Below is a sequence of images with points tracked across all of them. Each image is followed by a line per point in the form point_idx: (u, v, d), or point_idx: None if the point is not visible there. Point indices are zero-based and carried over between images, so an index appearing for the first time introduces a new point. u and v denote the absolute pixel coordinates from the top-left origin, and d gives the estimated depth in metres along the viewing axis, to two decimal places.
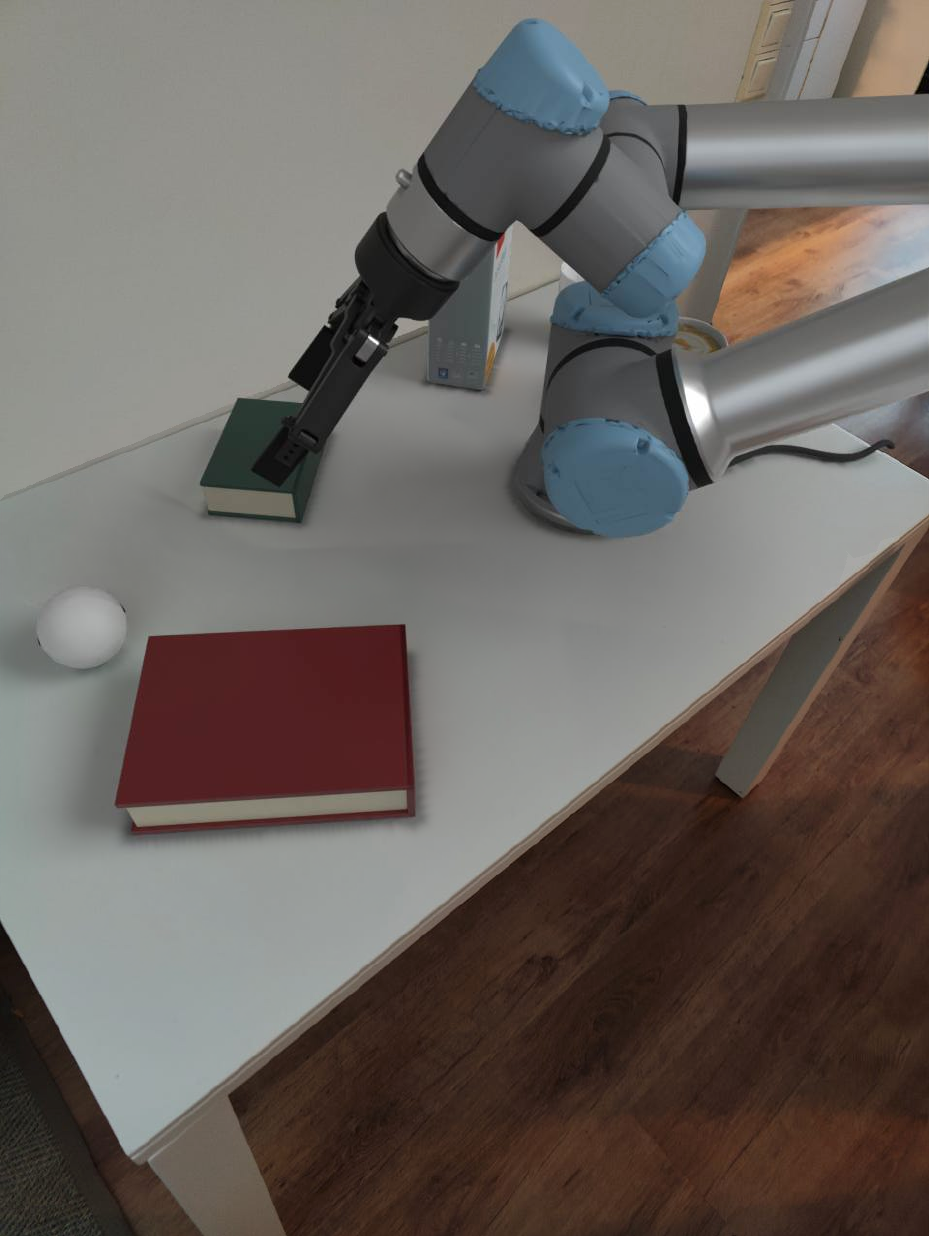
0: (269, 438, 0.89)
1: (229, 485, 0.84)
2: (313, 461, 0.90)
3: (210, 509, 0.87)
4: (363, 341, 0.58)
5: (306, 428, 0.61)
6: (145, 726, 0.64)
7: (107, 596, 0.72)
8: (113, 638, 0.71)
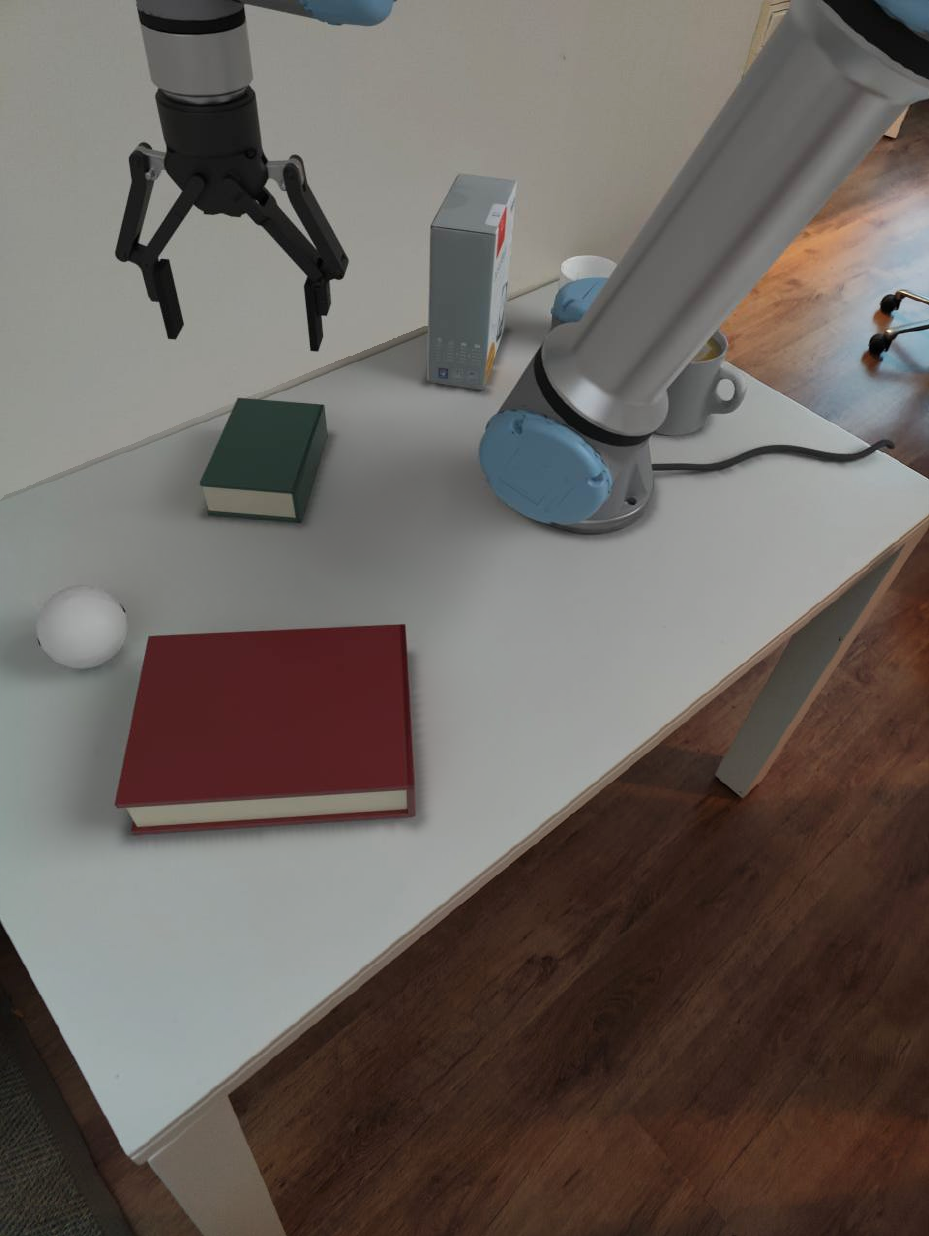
0: (269, 438, 0.89)
1: (229, 485, 0.84)
2: (313, 461, 0.90)
3: (210, 509, 0.87)
4: None
5: None
6: (145, 726, 0.64)
7: (107, 596, 0.72)
8: (113, 638, 0.71)
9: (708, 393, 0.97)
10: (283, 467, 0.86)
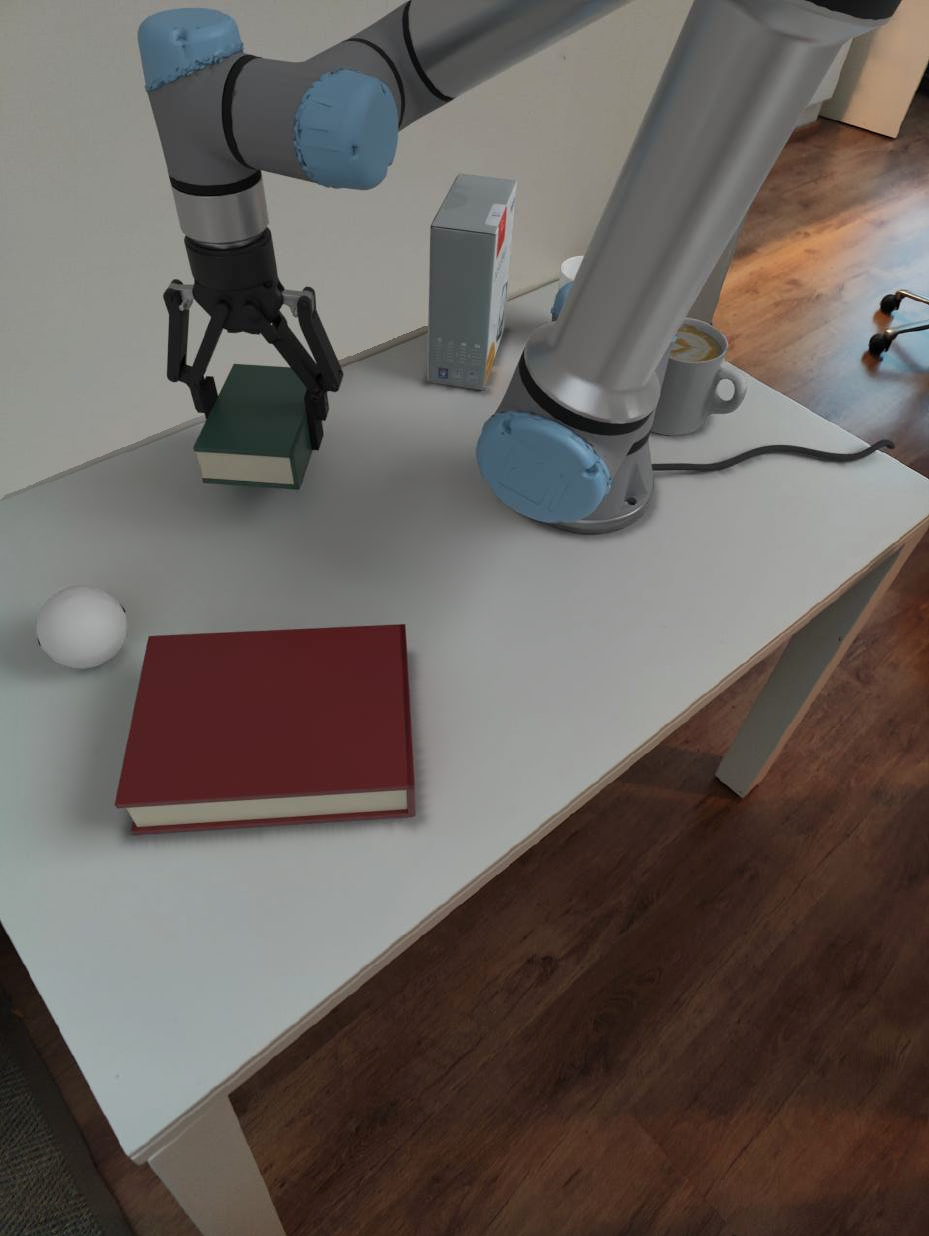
0: (266, 403, 0.85)
1: (224, 450, 0.80)
2: None
3: (205, 477, 0.83)
4: None
5: None
6: (145, 726, 0.64)
7: (107, 596, 0.72)
8: (113, 638, 0.71)
9: (708, 393, 0.97)
10: (280, 431, 0.82)
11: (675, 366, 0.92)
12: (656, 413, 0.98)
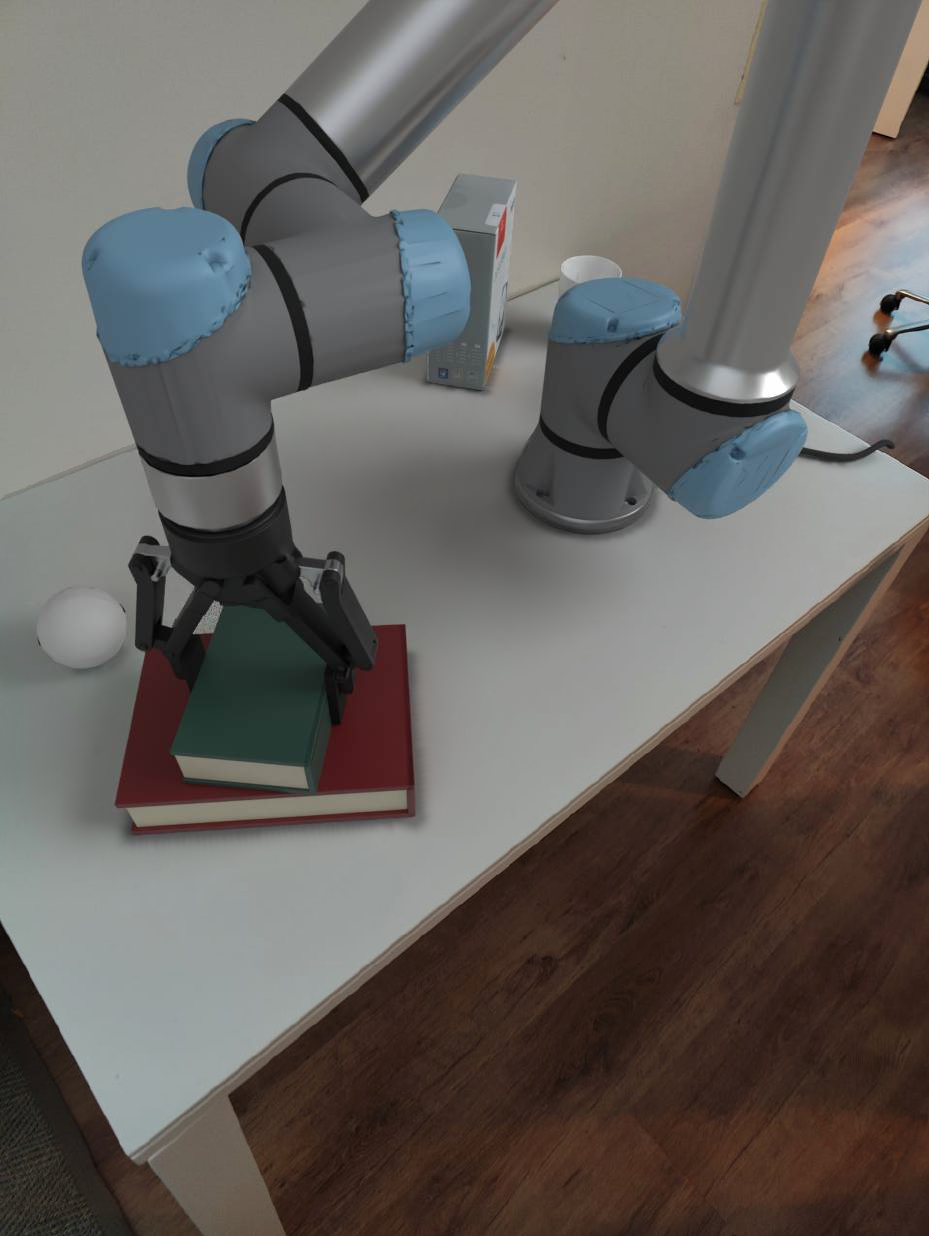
0: (271, 667, 0.63)
1: (213, 755, 0.58)
2: None
3: (186, 776, 0.61)
4: None
5: None
6: (145, 726, 0.64)
7: (107, 596, 0.72)
8: (113, 638, 0.71)
9: None
10: (291, 720, 0.60)
11: None
12: None
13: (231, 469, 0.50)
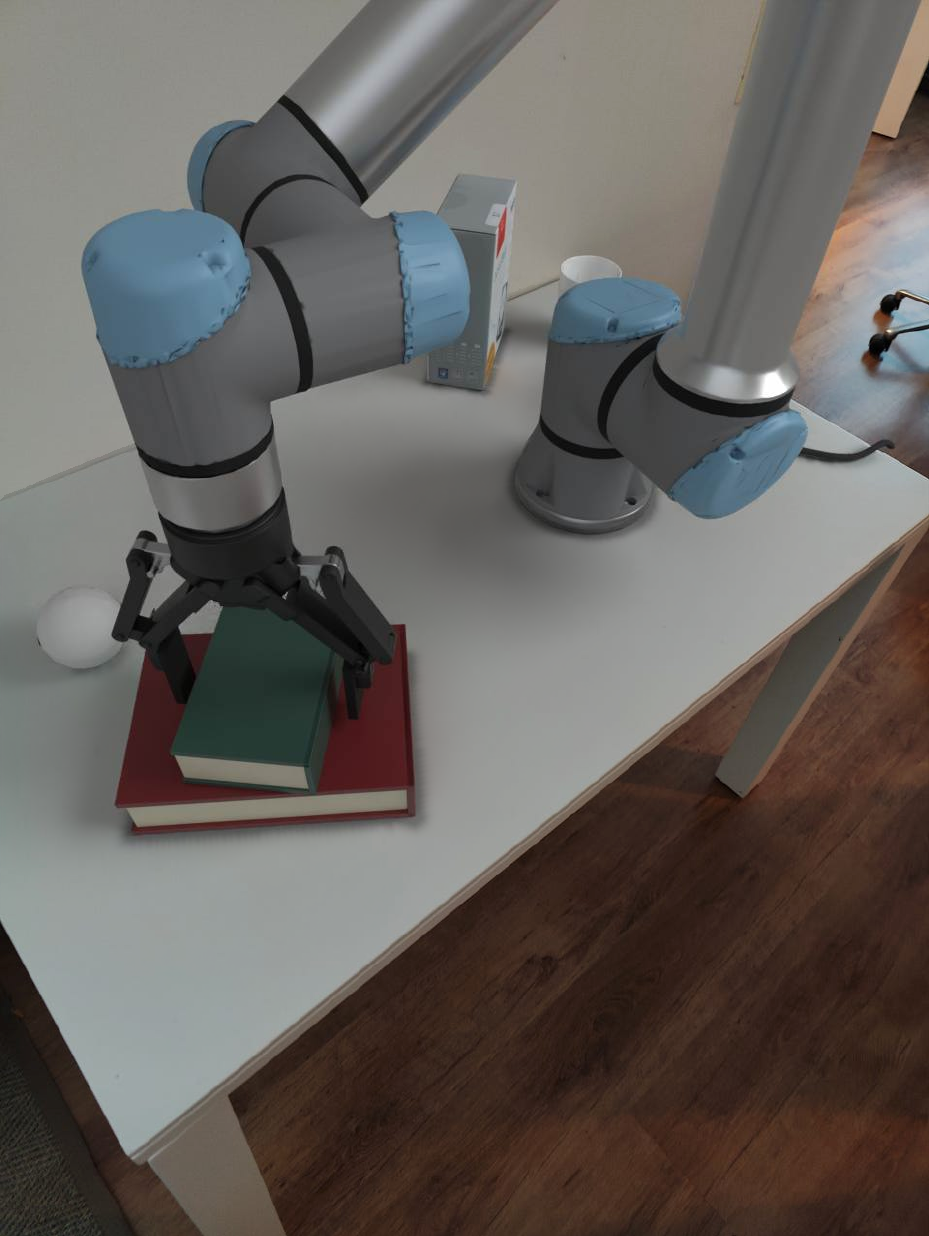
0: (271, 667, 0.63)
1: (213, 755, 0.58)
2: (332, 694, 0.64)
3: (186, 776, 0.61)
4: None
5: None
6: (145, 726, 0.64)
7: (107, 596, 0.72)
8: None
9: None
10: (291, 720, 0.60)
11: None
12: None
13: (231, 470, 0.50)
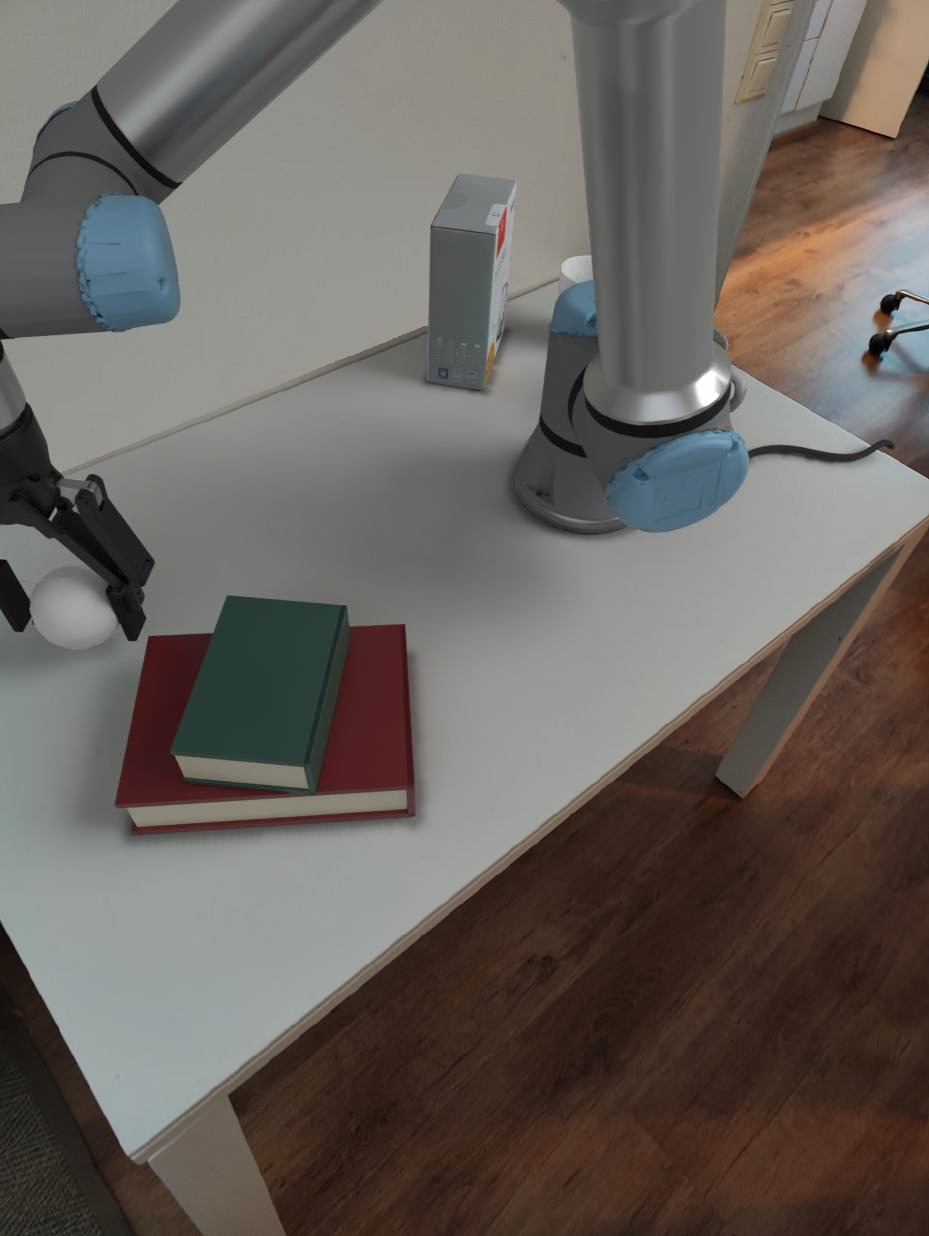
0: (271, 667, 0.63)
1: (213, 755, 0.58)
2: (332, 694, 0.64)
3: (186, 776, 0.61)
4: None
5: None
6: (145, 726, 0.64)
7: None
8: (108, 619, 0.69)
9: None
10: (291, 720, 0.60)
11: None
12: None
13: None
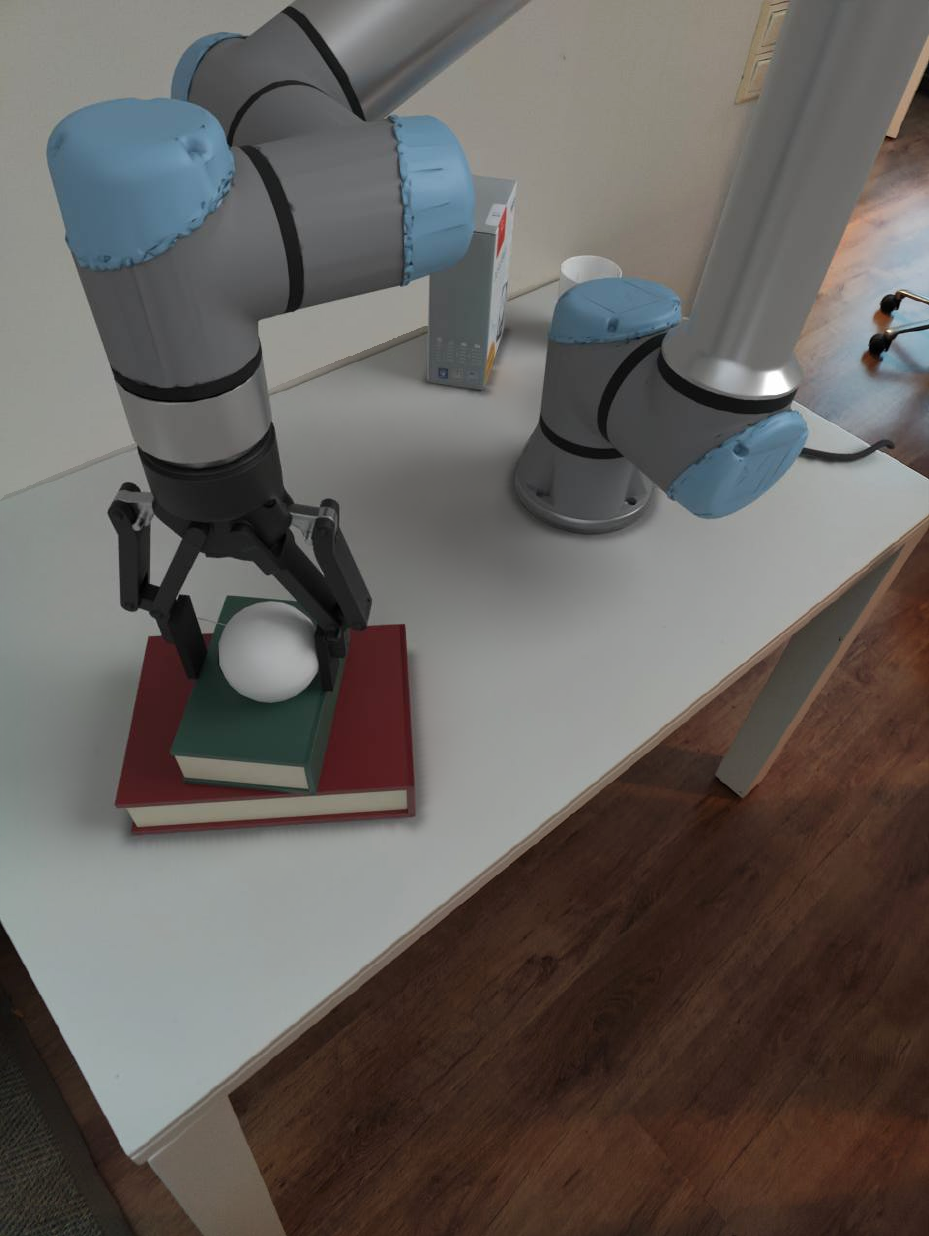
0: None
1: (213, 755, 0.58)
2: (332, 695, 0.64)
3: (186, 776, 0.61)
4: None
5: None
6: (145, 726, 0.64)
7: (302, 615, 0.59)
8: (311, 667, 0.58)
9: None
10: (291, 720, 0.60)
11: None
12: None
13: None
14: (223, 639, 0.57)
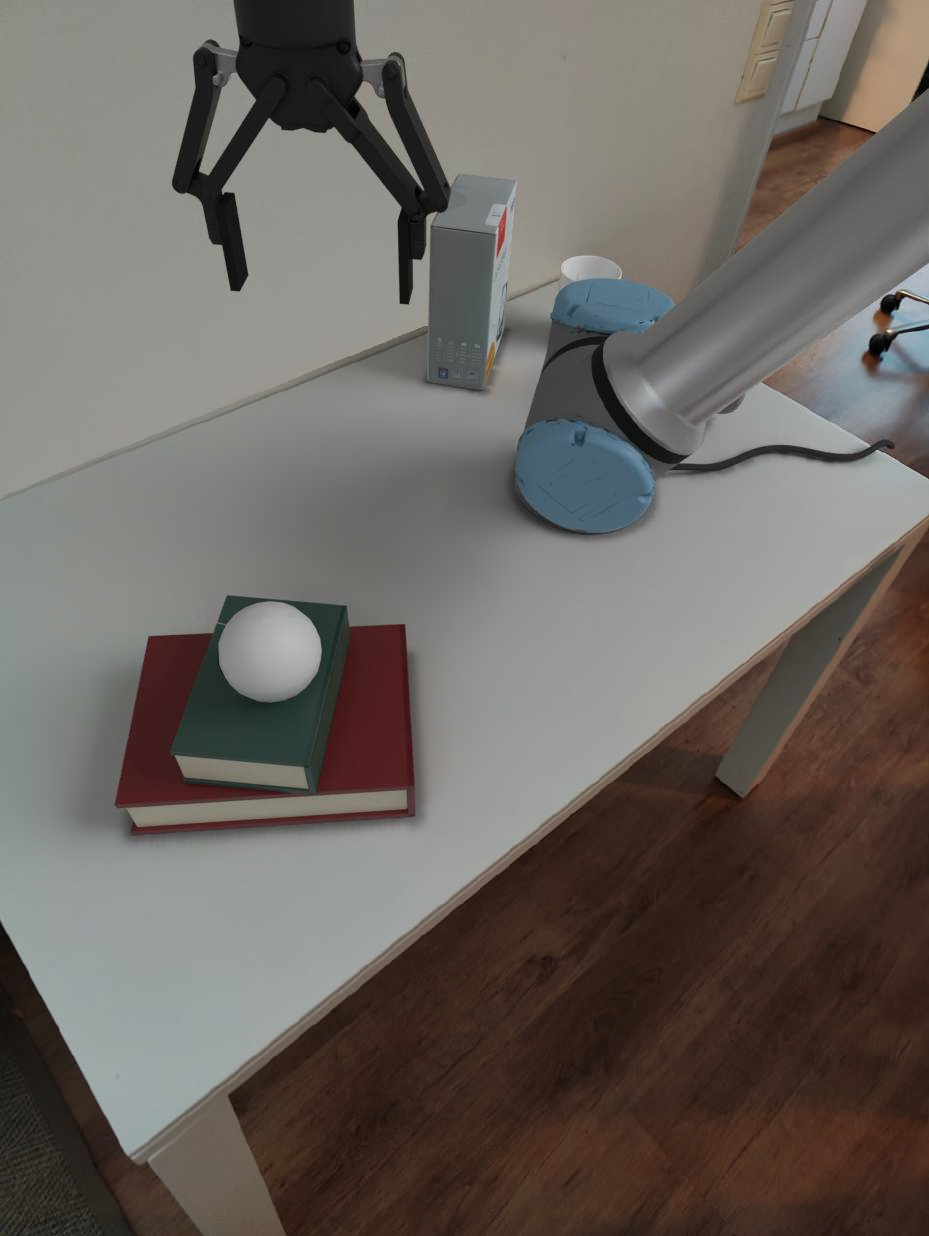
0: None
1: (213, 755, 0.58)
2: (332, 694, 0.64)
3: (186, 776, 0.61)
4: None
5: None
6: (145, 726, 0.64)
7: (302, 615, 0.59)
8: (311, 667, 0.58)
9: None
10: (291, 720, 0.60)
11: None
12: None
13: None
14: (223, 639, 0.57)
